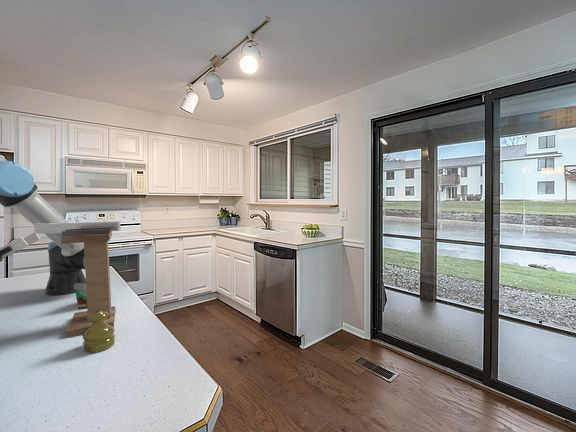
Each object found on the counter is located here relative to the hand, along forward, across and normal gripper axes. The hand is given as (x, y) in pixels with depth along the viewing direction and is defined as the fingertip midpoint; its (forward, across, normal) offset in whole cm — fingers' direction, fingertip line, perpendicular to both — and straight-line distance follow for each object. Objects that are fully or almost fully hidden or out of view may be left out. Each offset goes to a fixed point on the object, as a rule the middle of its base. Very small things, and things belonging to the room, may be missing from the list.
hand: (31, 238), depth 91 cm
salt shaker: (+1, +23, -34) cm, 42 cm away
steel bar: (+11, -2, -5) cm, 12 cm away
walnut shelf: (-1, +4, -33) cm, 33 cm away
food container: (-3, -16, -32) cm, 36 cm away
